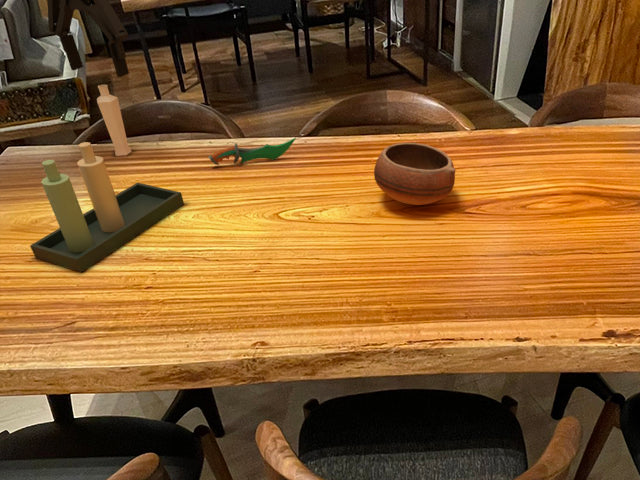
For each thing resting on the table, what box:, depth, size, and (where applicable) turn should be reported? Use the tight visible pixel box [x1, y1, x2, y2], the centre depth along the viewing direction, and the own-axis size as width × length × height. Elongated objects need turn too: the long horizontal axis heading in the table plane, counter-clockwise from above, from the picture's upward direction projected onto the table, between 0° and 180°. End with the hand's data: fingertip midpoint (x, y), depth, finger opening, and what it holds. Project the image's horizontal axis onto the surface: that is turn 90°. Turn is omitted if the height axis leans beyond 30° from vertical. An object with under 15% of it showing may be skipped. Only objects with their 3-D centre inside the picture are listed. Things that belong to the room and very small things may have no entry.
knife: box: [208, 137, 297, 166], centre depth 139 cm, size 20×2×5 cm, turn 104°
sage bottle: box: [40, 159, 94, 253], centre depth 108 cm, size 4×4×16 cm
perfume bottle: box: [96, 83, 132, 157], centre depth 142 cm, size 5×4×15 cm
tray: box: [29, 182, 185, 273], centre depth 119 cm, size 12×28×3 cm, turn 153°
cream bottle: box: [76, 141, 125, 232], centre depth 114 cm, size 4×4×16 cm
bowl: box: [373, 142, 457, 206], centre depth 121 cm, size 16×16×10 cm
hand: (100, 72), depth 135 cm, fingers open, 13 cm apart
